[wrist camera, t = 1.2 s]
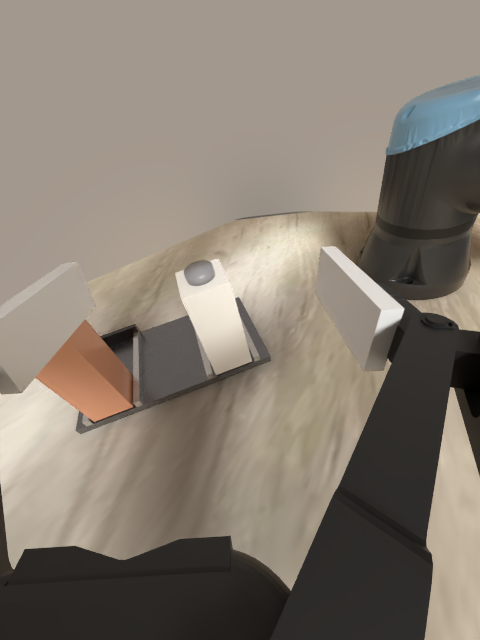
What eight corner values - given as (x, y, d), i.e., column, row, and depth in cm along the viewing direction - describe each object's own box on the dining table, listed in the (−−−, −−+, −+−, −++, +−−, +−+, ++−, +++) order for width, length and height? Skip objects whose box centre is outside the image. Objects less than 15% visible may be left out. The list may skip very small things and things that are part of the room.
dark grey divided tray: (240, 301, 45) (236, 287, 43) (270, 360, 35) (268, 346, 33) (93, 354, 43) (82, 342, 41) (80, 434, 33) (65, 423, 31)
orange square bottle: (133, 375, 36) (68, 300, 27) (133, 406, 33) (58, 331, 23) (98, 389, 36) (19, 316, 26) (94, 421, 32) (1, 351, 23)
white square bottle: (240, 336, 38) (215, 250, 28) (252, 361, 34) (228, 272, 24) (208, 348, 37) (171, 265, 28) (216, 375, 34) (177, 290, 24)
